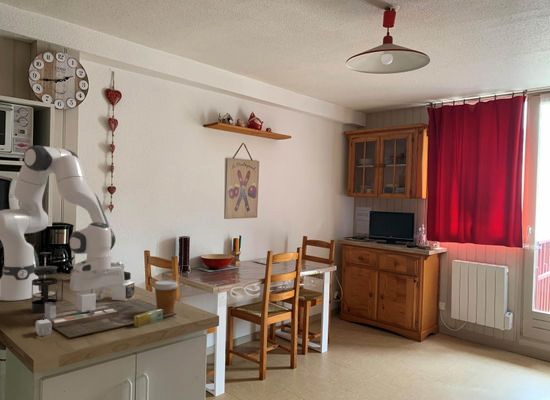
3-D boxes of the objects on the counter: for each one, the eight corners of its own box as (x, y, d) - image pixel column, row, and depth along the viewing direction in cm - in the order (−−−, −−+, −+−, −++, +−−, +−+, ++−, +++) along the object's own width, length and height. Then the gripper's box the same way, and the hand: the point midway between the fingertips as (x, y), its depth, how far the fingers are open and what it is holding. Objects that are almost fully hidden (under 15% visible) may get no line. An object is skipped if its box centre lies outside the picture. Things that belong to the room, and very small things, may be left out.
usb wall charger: (48, 330, 141) (48, 318, 141) (53, 336, 136) (53, 323, 136) (35, 332, 139) (35, 320, 139) (39, 338, 134) (40, 326, 134)
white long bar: (44, 316, 152) (44, 302, 152) (102, 306, 166) (102, 294, 166) (49, 320, 147) (50, 306, 147) (108, 309, 162) (108, 297, 162)
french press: (29, 314, 158) (30, 254, 158) (27, 308, 166) (29, 251, 165) (63, 310, 164) (64, 253, 164) (60, 305, 172) (61, 250, 172)
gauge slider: (76, 309, 159) (76, 293, 159) (89, 306, 163) (89, 291, 163) (86, 315, 152) (86, 298, 152) (100, 312, 156) (100, 296, 155)
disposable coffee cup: (164, 316, 161) (165, 285, 160) (148, 312, 166) (148, 282, 165) (182, 311, 169) (183, 281, 169) (165, 307, 174) (166, 278, 174)
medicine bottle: (125, 301, 181) (126, 273, 181) (111, 299, 183) (111, 272, 183) (134, 297, 188) (135, 271, 188) (120, 296, 190) (120, 270, 190)
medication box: (158, 318, 159) (158, 308, 159) (163, 319, 157) (163, 309, 157) (133, 326, 149) (133, 315, 149) (138, 327, 147) (138, 316, 147)
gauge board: (42, 319, 153) (43, 314, 153) (104, 308, 169) (104, 303, 169) (54, 327, 144) (54, 322, 144) (118, 315, 160) (118, 310, 160)
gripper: (120, 260, 172) (119, 293, 172) (68, 265, 157) (67, 301, 157) (127, 262, 167) (126, 296, 168) (74, 268, 153) (74, 305, 153)
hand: (97, 299), depth 162 cm, fingers closed
